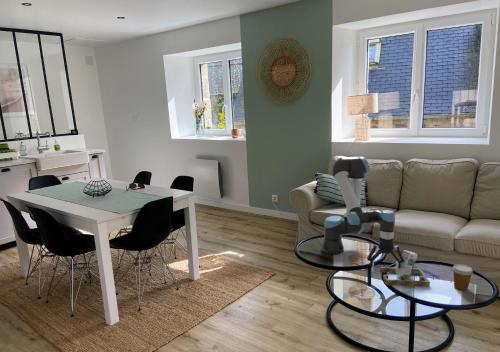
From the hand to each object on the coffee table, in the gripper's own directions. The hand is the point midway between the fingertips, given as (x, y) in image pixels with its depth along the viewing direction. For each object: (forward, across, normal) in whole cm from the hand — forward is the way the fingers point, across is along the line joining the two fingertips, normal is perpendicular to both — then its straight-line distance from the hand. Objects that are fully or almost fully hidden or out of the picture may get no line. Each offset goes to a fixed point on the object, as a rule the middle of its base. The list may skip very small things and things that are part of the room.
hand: (384, 272), depth 213 cm
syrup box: (+2, +10, 0) cm, 10 cm away
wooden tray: (+3, +10, -2) cm, 11 cm away
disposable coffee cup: (+3, +38, -10) cm, 39 cm away
